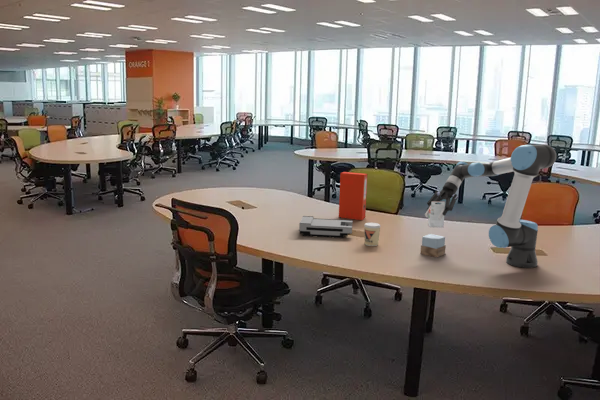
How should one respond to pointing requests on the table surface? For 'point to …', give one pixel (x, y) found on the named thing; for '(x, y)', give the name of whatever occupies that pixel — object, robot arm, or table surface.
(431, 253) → the walnut base block
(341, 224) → the game console
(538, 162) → the robot arm
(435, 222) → the ink box
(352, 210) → the file binder
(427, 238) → the grey-blue top block
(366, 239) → the coffee cup
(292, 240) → the table surface
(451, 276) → the table surface
